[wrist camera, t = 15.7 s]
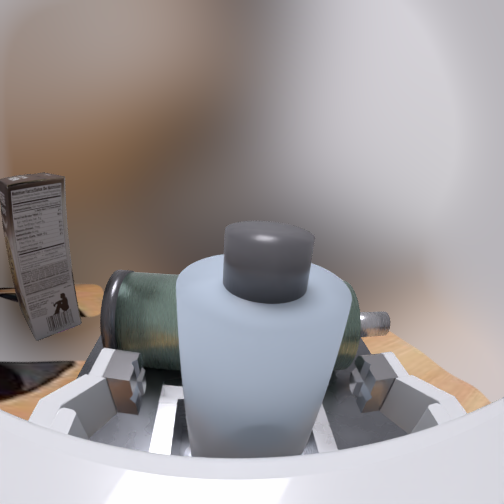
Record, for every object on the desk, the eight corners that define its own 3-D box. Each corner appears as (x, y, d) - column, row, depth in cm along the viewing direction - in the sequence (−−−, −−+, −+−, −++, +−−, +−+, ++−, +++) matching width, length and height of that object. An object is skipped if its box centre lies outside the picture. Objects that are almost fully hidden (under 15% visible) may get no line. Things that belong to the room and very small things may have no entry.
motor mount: (32, 555, 5) (-81, 475, 1) (110, 347, 25) (95, 254, 22) (447, 545, 7) (555, 463, 4) (352, 354, 28) (376, 266, 25)
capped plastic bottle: (194, 514, 10) (155, 263, 5) (196, 442, 15) (187, 208, 10) (294, 511, 10) (398, 271, 6) (280, 442, 15) (327, 217, 11)
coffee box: (18, 307, 28) (-3, 178, 23) (58, 294, 33) (45, 170, 28) (35, 343, 23) (4, 183, 18) (84, 324, 28) (66, 173, 23)
